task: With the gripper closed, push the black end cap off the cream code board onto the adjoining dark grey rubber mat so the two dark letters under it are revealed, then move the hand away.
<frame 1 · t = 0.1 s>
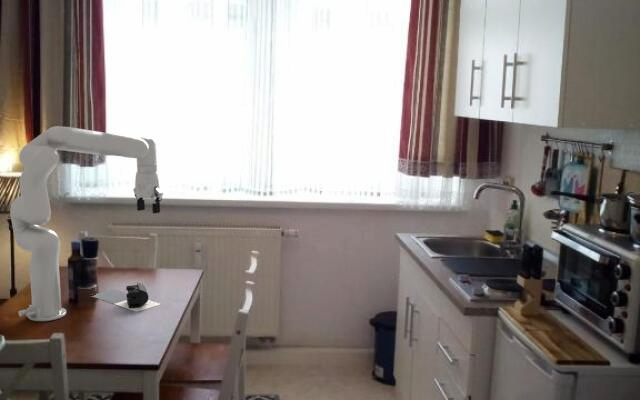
hand: (148, 211, 265), 31 cm above the table, fingers open, 9 cm apart
code board: (137, 304, 249), on the table
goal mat: (113, 296, 258), on the table
end cap: (137, 304, 249), on the table, touching code board
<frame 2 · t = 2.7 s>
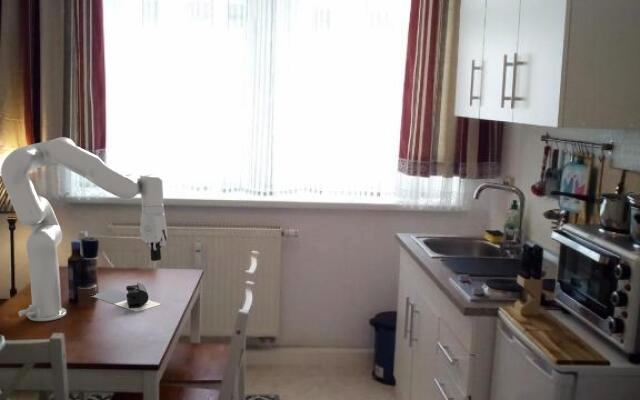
hand: (156, 259, 239), 19 cm above the table, fingers closed
nothing on the table moved.
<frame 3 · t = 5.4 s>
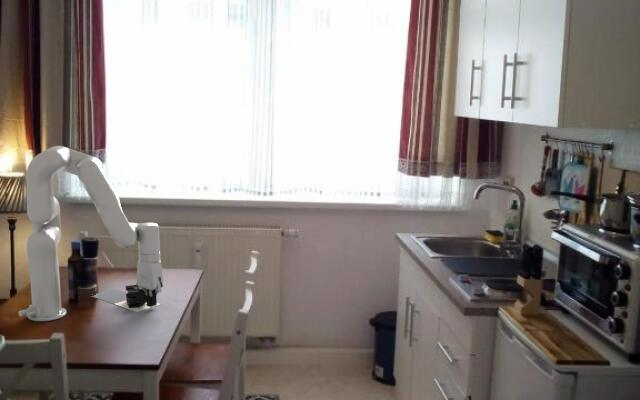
hand: (151, 305, 244), 1 cm above the table, fingers closed
end cap: (137, 304, 249), on the table, touching gripper
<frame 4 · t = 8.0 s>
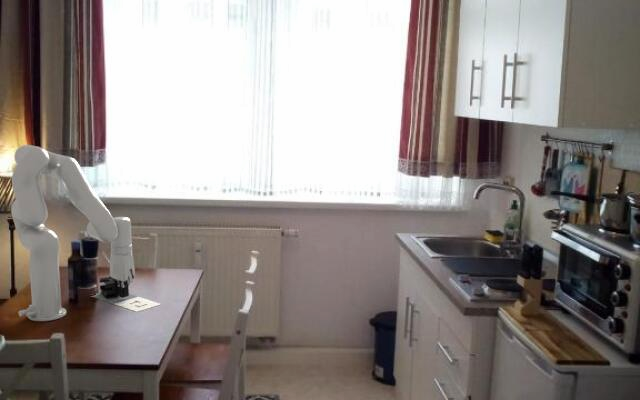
hand: (124, 296, 254), 1 cm above the table, fingers closed
end cap: (112, 295, 260), on the table, touching gripper
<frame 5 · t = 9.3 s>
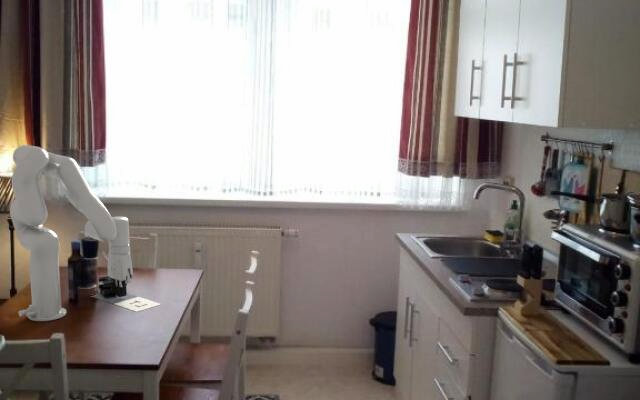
hand: (121, 295, 255), 1 cm above the table, fingers closed
end cap: (111, 294, 261), on the table, touching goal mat
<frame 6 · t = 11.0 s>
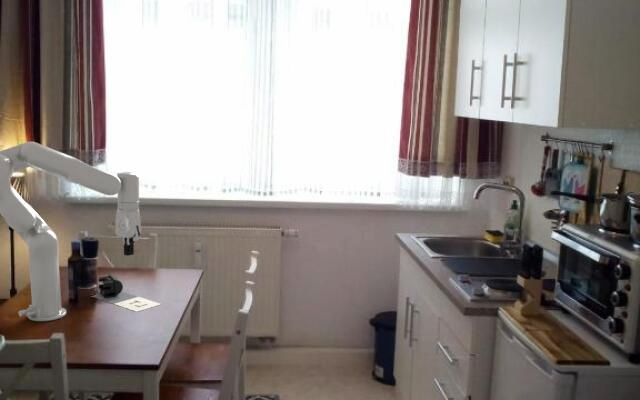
hand: (128, 254, 247), 19 cm above the table, fingers closed
nothing on the table moved.
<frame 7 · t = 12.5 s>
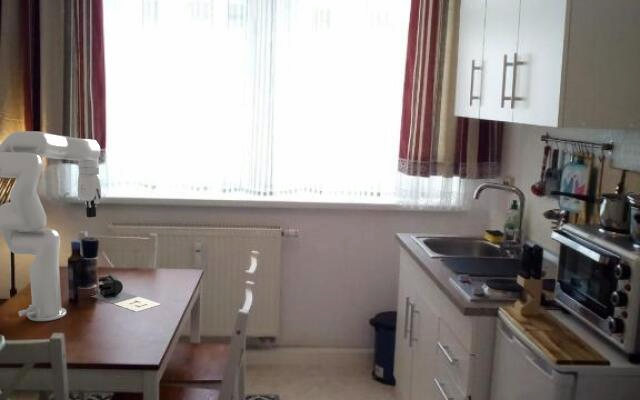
hand: (91, 216, 265), 29 cm above the table, fingers closed
nothing on the table moved.
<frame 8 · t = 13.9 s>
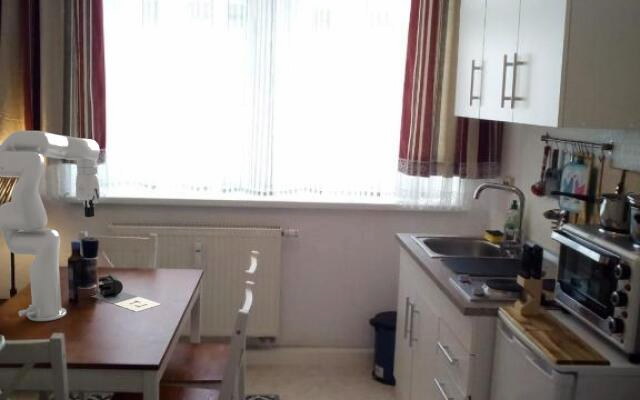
hand: (89, 216, 265), 29 cm above the table, fingers closed
nothing on the table moved.
at the end: end cap inside the target area on the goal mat (3.1 cm from its centre), point 0.0 cm above the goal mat's base; end cap touching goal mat; end cap moved 18.4 cm from its start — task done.
